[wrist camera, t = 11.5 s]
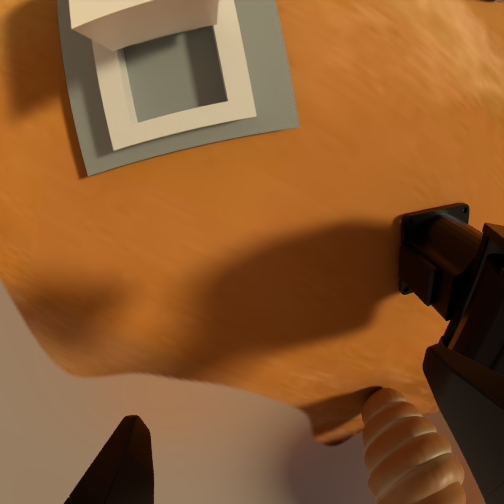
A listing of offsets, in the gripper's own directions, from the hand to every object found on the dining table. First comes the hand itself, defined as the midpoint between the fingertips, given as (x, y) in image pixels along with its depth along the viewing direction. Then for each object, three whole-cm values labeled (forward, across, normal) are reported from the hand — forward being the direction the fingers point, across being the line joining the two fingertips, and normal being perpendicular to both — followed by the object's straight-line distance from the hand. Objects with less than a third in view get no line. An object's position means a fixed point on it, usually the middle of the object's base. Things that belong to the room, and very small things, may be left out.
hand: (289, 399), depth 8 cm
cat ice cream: (+13, -10, +20) cm, 26 cm away
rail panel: (+12, +2, -16) cm, 20 cm away
